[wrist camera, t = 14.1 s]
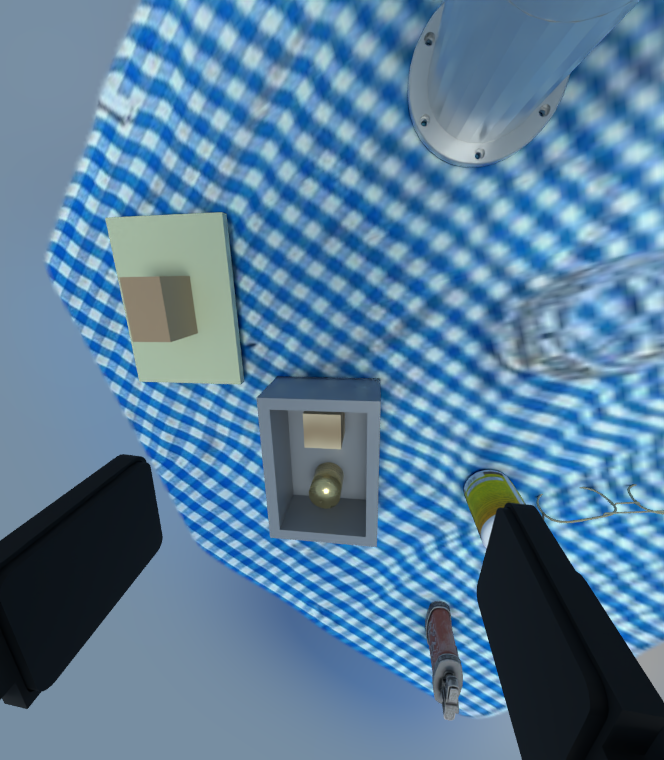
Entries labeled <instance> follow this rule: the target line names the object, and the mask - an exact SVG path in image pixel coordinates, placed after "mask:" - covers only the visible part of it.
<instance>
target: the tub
mask: <svg viewBox="0 0 664 760" xmlns="http://www.w3.org/2000/svg"><path fill="white" fill-rule="evenodd" d="M380 404H381V396H380V379H374V378H326V377H278V376H277V377H276V378H275V380H274V381H273V382H272V383H271V384H270V385H269V386H268V387H267V388H266V389H265V390H264V391H263V392H262V393H261V394H260V395H259V396H258V397H257V407H258V417H259V427H260V438H261V448H262V458H263V468H264V478H265V488H266V498H267V509H268V519H269V529H270V537H271V538H282V539H293V540H305V541H316V542H327V543H338V544H349V545H360V546H371V547H377V519H378V481H379V442H380ZM304 411H325V412H345V434H344V439H343V443H342V448H341V449H323V448H305V446H304V427H303V412H304ZM326 462H331V463H334V464H336V465H338V466H339V467H340V468H341V469H342V471H343V474H344V478H343V484H342V490H341V495H340V500H339V502H338V504H337V505H336V506H334V507H332V508H328V509H324V508H320V507H318V506H316V505H314V504H313V503H312V501H311V500H310V498H309V490H310V487H311V483H312V480H313V477H314V474H315V471H316V469H317V467H318V466H319V465H320V464H322V463H326Z"/></svg>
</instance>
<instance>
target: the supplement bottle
mask: <svg viewBox="0 0 664 760" xmlns="http://www.w3.org/2000/svg"><path fill="white" fill-rule="evenodd" d="M464 495H465V498H466V501H467V504H468V506H469V509H470V512H471V514H472V517H473V519H474V522H475V524H476V527H477V529H478V532H479V535H480V538H481V540H482V542H483V545H484V546H485V548H486V549H487V545H488V542H489V538H490V534H491V530H492V526H493V522H494V518H495V514H496V511H497V509H498V508H504V506H505V504H506V503H508V502H510V503H518V504H525V502H524V501H523V499H522V497H521V496H520V494H519V493H518V491H517V490H516V488H515V487H514V485H513V483H512V482H511V481H510V479H509V478H508V477H507V476H506V475H504V474H503V473H501V472H498V471H494V470H483V471H479V472H477V473H475V474H473V475H472V476H471V477H470V478H469V479H468V480H467V481H466V483H465V486H464Z"/></svg>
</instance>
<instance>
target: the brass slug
mask: <svg viewBox="0 0 664 760" xmlns="http://www.w3.org/2000/svg"><path fill="white" fill-rule="evenodd" d="M343 478H344V474H343V471H342V469H341V468H340V467H339V466H338V465H336V464H334V463H331V462H326V463H322V464H320V465H319V466H318V467H317V469H316V471H315V474H314V477H313V480H312V483H311V487H310V490H309V498H310V500H311V501H312V503H313V504H314V505H316V506H318V507H320V508H324V509H328V508H332V507H334V506H336V505H337V504H338V502H339V500H340V495H341V490H342V484H343Z"/></svg>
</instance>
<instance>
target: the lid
mask: <svg viewBox="0 0 664 760" xmlns="http://www.w3.org/2000/svg"><path fill="white" fill-rule="evenodd" d="M106 223H107V228H108V233H109V238H110V242H111V247H112V252H113V257H114V262H115V266H116V271H117V276H118V281H119V285H120V290H121V295H122V300H123V305H124V309H125V314H126V319H127V324H128V329H129V333H130V338H131V343H132V348H133V353H134V357H135V362H136V367H137V372H138V376H139V381H140V382H175V383H211V384H242V383H243V382H244V375H243V365H242V356H241V347H240V337H239V328H238V318H237V309H236V299H235V290H234V280H233V271H232V261H231V252H230V242H229V233H228V223H227V214H225V213H222V212H218V213H197V214H175V215H154V216H132V217H111V218H106Z"/></svg>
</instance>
